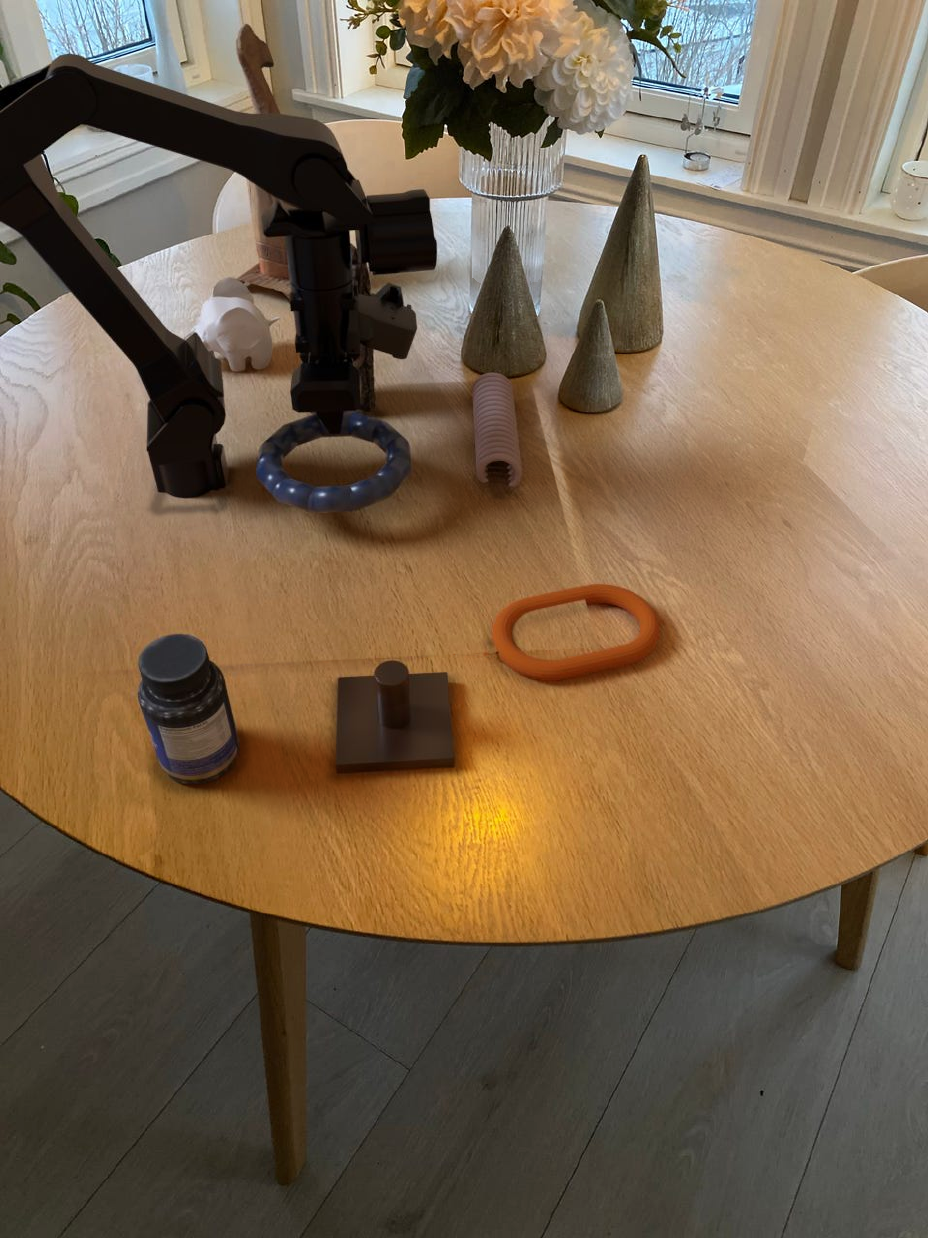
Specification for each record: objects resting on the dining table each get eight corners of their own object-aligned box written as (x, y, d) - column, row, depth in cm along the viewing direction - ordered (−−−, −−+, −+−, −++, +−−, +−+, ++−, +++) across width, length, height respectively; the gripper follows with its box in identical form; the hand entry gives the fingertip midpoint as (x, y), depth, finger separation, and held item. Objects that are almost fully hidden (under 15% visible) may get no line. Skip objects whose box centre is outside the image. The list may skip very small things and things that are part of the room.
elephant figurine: (184, 349, 121) (169, 281, 114) (279, 337, 123) (270, 269, 117) (191, 387, 114) (176, 316, 108) (291, 373, 117) (282, 303, 110)
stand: (336, 774, 73) (329, 721, 69) (338, 686, 79) (332, 633, 75) (454, 767, 73) (455, 714, 69) (447, 681, 80) (447, 628, 76)
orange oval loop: (476, 603, 84) (632, 571, 88) (476, 617, 86) (629, 585, 89) (513, 681, 78) (680, 643, 81) (512, 695, 79) (677, 657, 82)
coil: (525, 460, 96) (515, 370, 109) (479, 456, 95) (474, 366, 108) (518, 498, 99) (509, 406, 112) (474, 494, 99) (469, 402, 112)
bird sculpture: (342, 277, 136) (322, 17, 114) (299, 311, 129) (269, 39, 107) (275, 263, 140) (243, 7, 118) (229, 295, 132) (185, 27, 110)
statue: (308, 422, 109) (287, 247, 95) (337, 392, 113) (322, 222, 100) (362, 435, 107) (349, 259, 93) (389, 404, 112) (381, 232, 98)
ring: (253, 520, 88) (249, 499, 86) (264, 430, 99) (261, 410, 97) (414, 514, 89) (413, 493, 87) (408, 425, 100) (407, 405, 98)
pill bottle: (166, 727, 76) (135, 627, 68) (244, 723, 76) (221, 623, 69) (154, 790, 72) (119, 691, 64) (237, 785, 72) (212, 686, 64)
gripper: (414, 322, 81) (418, 476, 91) (406, 234, 94) (411, 377, 105) (280, 326, 80) (301, 480, 91) (292, 237, 93) (308, 380, 104)
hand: (335, 426), depth 98 cm, fingers closed on ring, 2 cm apart
